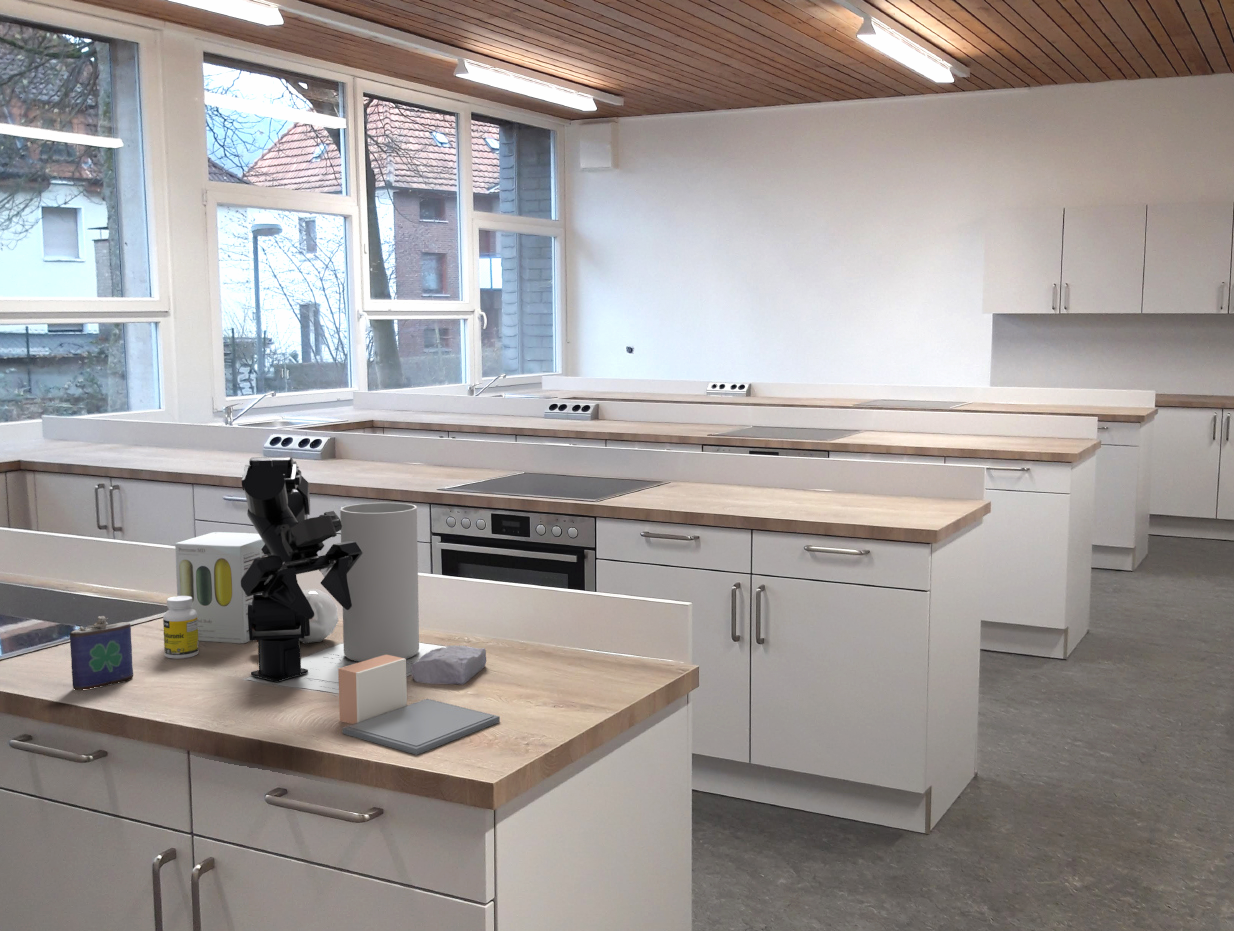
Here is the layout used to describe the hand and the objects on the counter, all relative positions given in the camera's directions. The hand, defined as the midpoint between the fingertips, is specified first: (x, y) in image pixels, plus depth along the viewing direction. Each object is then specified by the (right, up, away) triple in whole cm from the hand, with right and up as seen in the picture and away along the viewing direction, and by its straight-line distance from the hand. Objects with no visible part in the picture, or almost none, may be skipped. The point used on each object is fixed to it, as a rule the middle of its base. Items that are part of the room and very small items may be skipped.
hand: (331, 612), depth 169 cm
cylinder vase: (+2, -11, +28) cm, 30 cm away
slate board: (+15, -15, -9) cm, 23 cm away
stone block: (+14, -12, +17) cm, 26 cm away
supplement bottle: (-32, -11, +28) cm, 44 cm away
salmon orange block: (+7, -14, -4) cm, 16 cm away
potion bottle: (-14, -10, +34) cm, 38 cm away
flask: (-38, -13, +11) cm, 41 cm away
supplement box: (-29, -9, +43) cm, 52 cm away
